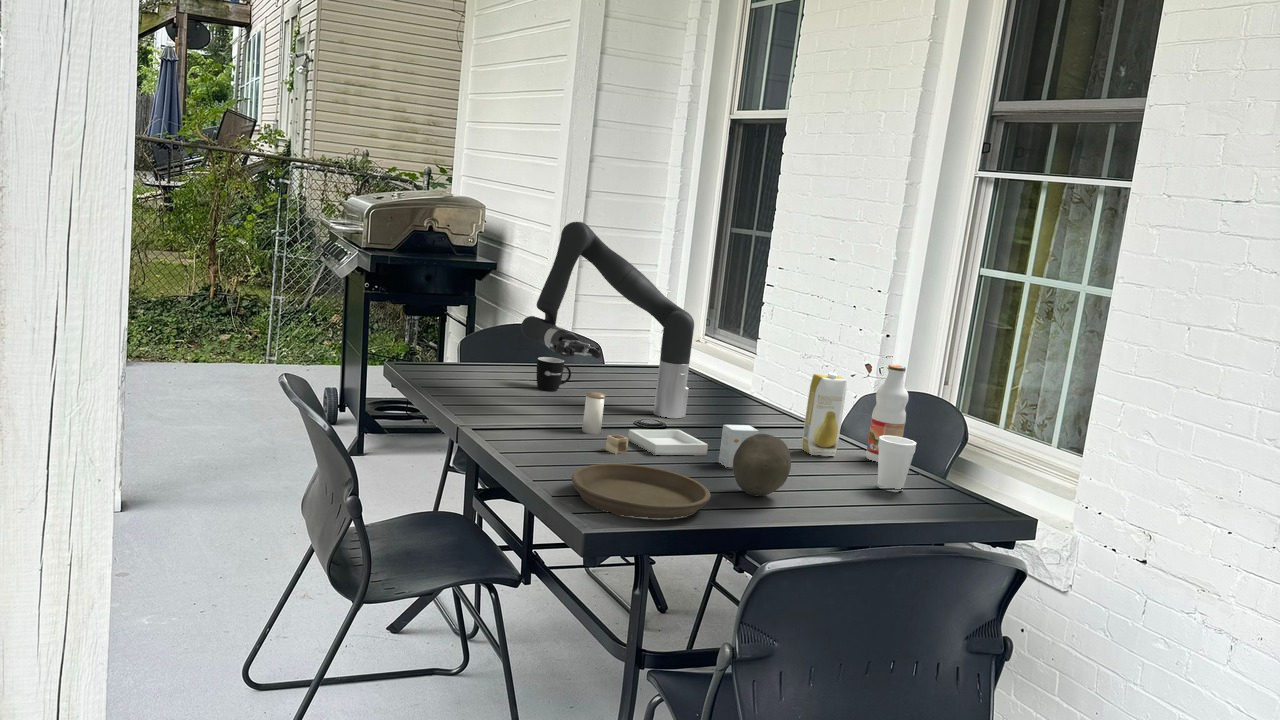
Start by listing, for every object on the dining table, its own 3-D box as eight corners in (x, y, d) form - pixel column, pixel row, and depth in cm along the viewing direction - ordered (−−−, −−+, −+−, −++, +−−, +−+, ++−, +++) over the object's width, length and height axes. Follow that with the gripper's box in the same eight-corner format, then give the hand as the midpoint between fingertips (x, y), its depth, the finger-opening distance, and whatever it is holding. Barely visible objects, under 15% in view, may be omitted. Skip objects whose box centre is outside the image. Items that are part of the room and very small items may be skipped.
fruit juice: (895, 467, 289) (911, 370, 285) (862, 460, 293) (877, 364, 288) (900, 460, 298) (916, 367, 293) (868, 454, 301) (883, 361, 297)
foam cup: (864, 484, 266) (871, 436, 263) (886, 482, 271) (894, 434, 269) (892, 495, 258) (901, 446, 256) (915, 492, 264) (923, 444, 262)
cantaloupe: (715, 491, 242) (724, 430, 240) (753, 484, 252) (761, 425, 250) (762, 508, 233) (771, 445, 230) (799, 501, 243) (808, 440, 240)
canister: (595, 429, 291) (600, 391, 289) (604, 434, 286) (608, 396, 284) (578, 429, 288) (583, 391, 286) (586, 434, 283) (591, 395, 282)
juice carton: (809, 456, 289) (821, 373, 285) (797, 449, 297) (809, 368, 293) (838, 458, 292) (851, 376, 288) (826, 450, 299) (839, 370, 296)
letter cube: (616, 449, 271) (618, 433, 271) (627, 453, 268) (629, 437, 268) (605, 450, 269) (607, 434, 268) (615, 454, 266) (617, 438, 265)
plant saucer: (731, 505, 233) (733, 486, 232) (665, 536, 207) (668, 514, 206) (616, 473, 248) (618, 455, 248) (541, 498, 222) (544, 477, 221)
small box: (744, 463, 273) (750, 425, 271) (753, 469, 268) (759, 430, 266) (717, 462, 270) (722, 423, 268) (726, 468, 265) (731, 429, 263)
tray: (677, 439, 290) (678, 429, 290) (706, 455, 276) (707, 444, 276) (627, 440, 282) (628, 429, 282) (654, 456, 269) (656, 445, 268)
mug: (538, 392, 333) (542, 361, 332) (530, 386, 341) (534, 356, 340) (573, 393, 338) (576, 363, 337) (564, 387, 346) (568, 358, 345)
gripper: (542, 327, 302) (566, 339, 288) (584, 331, 309) (609, 343, 296) (537, 351, 303) (562, 365, 290) (579, 354, 311) (605, 368, 297)
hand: (586, 354), depth 293 cm, fingers open, 8 cm apart
